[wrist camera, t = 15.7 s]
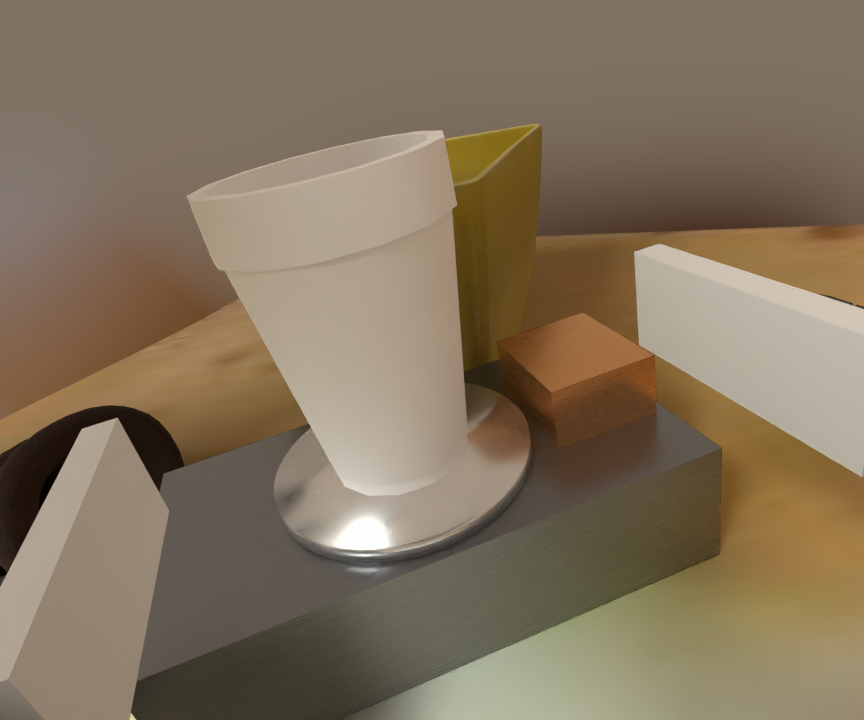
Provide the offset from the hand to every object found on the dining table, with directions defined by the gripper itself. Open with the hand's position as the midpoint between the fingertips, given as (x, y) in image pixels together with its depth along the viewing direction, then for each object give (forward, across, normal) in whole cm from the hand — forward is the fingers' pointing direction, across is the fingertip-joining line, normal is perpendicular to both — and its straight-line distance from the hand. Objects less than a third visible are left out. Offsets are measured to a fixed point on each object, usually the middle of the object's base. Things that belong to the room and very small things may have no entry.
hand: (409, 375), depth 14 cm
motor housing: (+10, 0, -15) cm, 18 cm away
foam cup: (+10, 0, -9) cm, 13 cm away
